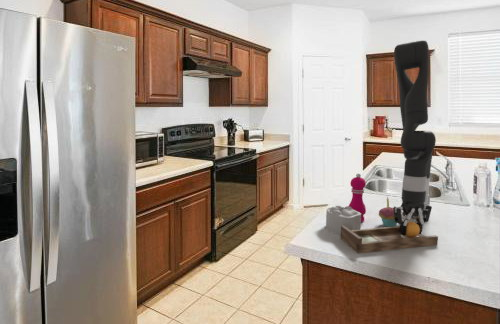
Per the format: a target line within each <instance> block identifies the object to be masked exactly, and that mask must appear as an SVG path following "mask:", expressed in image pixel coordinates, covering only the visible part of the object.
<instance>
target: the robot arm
mask: <svg viewBox="0 0 500 324" xmlns="http://www.w3.org/2000/svg"><path fill="white" fill-rule="evenodd" d="M393 51H394V52H393V58H394V60H393V61H394V66H395V72H396V77H397V83H398V93H399V95H398V97H399V106H400V107H399V109H400V118H401V122H402V123H401V124H402V134H401V137H400V146H401V148H402V149H403V156H404V159H405V162H404V169H403V170H404V171H403V172H404V173H403V179H402V186H401V202H402V203H401V205H400V206H393V207H392V208H393V210H394V219H395V222H396V223H397V224H398V225H399V226H400V231H399V232H400V234H401V235H403V236H406V229H407V226H406V224H407V222H409V221H411V218H412V219H415V220H416V222H415V223H416V224H418V226H419V228H420V232H419V234H422V232H423V227H424V224H425V223H428V222H429V220H430V218H431V217H430V216H431V212H432V209H433V208H432V207H433V206H432V205H430V202H431V195H430V194H429V191H430V179H431V170H432V169H431V167H432V159H433V152H434V148H435V146H436V142H437V138H436V135H435V133H434V132H433V131H431V130H417V129H418V127H419V126H422V125H426V123H428V120H429V111H428V85H429V74H430V73H429V71H430V48H429V45H428V42H427V40H425V39H420V40H415V41H414V40H413V41H410V42H404V43H400V44H397V45H396V46H395V47H394V50H393ZM412 69H418V73H417V77H416V79H415V81H414V82H413V81H412V80H411V78H410V76H409V75H408V72H407V70H412Z"/></svg>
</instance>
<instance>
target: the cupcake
mask: <svg viewBox="0 0 500 324" xmlns="http://www.w3.org/2000/svg"><path fill="white" fill-rule="evenodd" d="M388 197H389V196H387V197H386V207H383V208H380V209H379V211H378V216H379V217H380V218H381V221H382V224H383V226H384V227H393V226H397V224H398V223H396V222H395V219H394V210H393V208H394V207H390V201H389V198H388Z"/></svg>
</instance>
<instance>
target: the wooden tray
mask: <svg viewBox="0 0 500 324" xmlns="http://www.w3.org/2000/svg"><path fill="white" fill-rule="evenodd" d="M399 231H400V225H396V226H393V227H387V226H384V227H371V228H363V229H361V228H360V229H359V230H350V229H348V228H347V227H345V226H341V235H340V240H341V241H342V242H343V243H344V244H346V245H347V246H348V247H350V249H352V250H353V251H355V252H356V253H357V254H363V253H364V254H365V253H372V252H373V253H374V252H382V251H391V250H402V249H410V248H418V247H419V248H421V247H429V246H437V245H438V241H439V236H437V235H436V234H435V235H434V234H433V235H425V234H423V233H421V234H418V235H417V236H416V237H408V236H403V235H401V234H400V232H399Z"/></svg>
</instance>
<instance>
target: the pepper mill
mask: <svg viewBox="0 0 500 324" xmlns="http://www.w3.org/2000/svg"><path fill="white" fill-rule="evenodd" d="M355 176H356V177H352V178H351V181H350V182H349V183H350V187H351V194H352V198H351V200H350V201H349V202H350V203H349V204H348V206H350V207H351V208H352V209H353V210H355V211H358V212H360V213H361V223H364V222H365V216H364V215H366V213H367V210H366V205H365V203H364V198H363V196H364V193H365V188H366V186H367V185H366V183H367V182H366V180H365V179H364V178H363V177H361V173H356V175H355Z"/></svg>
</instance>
